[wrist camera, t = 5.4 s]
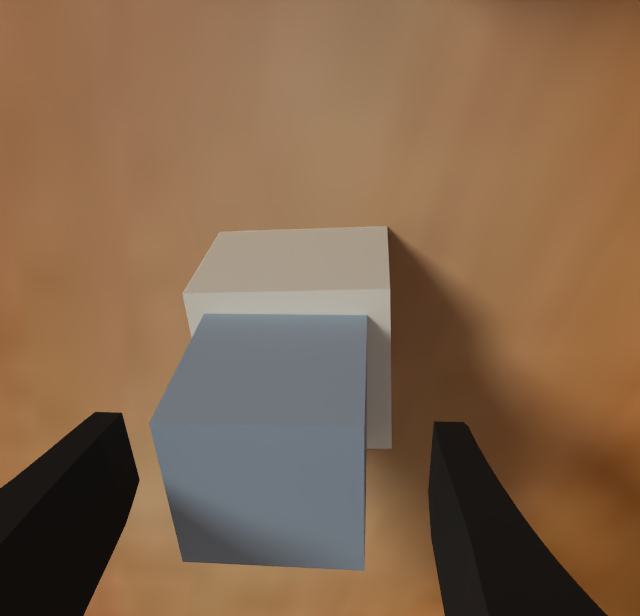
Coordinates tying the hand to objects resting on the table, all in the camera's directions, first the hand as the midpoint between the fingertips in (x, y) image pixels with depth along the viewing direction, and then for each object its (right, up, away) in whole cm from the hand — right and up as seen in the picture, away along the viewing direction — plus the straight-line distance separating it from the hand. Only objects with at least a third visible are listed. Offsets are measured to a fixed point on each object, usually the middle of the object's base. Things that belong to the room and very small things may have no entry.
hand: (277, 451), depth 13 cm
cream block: (+1, +3, +6) cm, 7 cm away
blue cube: (0, +1, +2) cm, 3 cm away
